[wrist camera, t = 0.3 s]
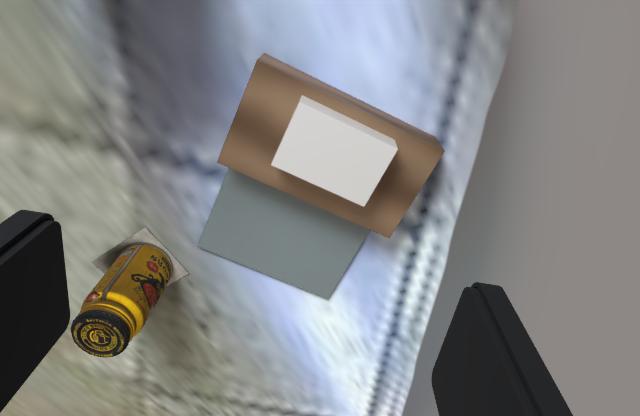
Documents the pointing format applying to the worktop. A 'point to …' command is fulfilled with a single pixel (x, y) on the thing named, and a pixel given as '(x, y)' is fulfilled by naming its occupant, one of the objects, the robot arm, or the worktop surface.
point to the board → (290, 84)
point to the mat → (280, 234)
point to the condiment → (124, 294)
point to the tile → (334, 151)
